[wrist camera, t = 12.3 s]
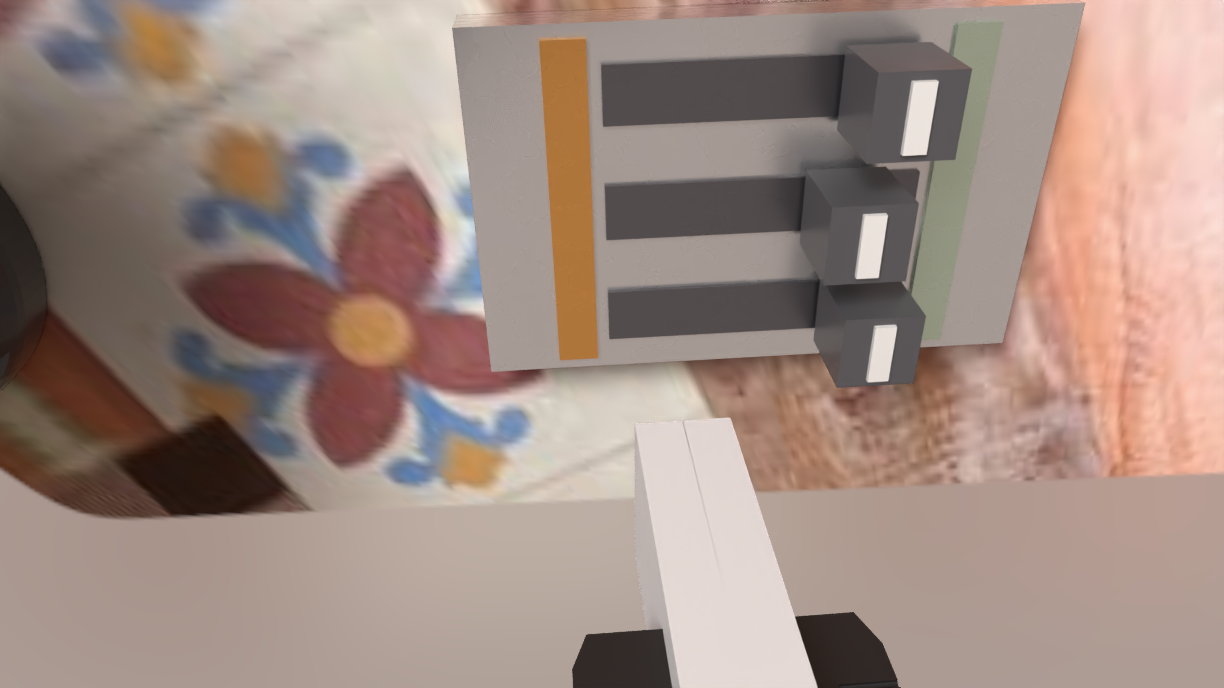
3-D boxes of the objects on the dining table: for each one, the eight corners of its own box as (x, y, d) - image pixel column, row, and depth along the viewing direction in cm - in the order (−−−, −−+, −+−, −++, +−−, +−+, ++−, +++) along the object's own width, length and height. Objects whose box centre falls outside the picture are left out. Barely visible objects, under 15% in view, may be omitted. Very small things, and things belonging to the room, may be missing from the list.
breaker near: (836, 129, 33) (868, 166, 29) (846, 45, 31) (880, 74, 28) (917, 125, 33) (957, 162, 30) (931, 41, 31) (974, 70, 28)
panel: (493, 346, 39) (491, 374, 38) (457, 15, 32) (451, 29, 30) (983, 319, 40) (1004, 345, 39) (1057, -9, 33) (1088, 3, 31)
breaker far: (813, 339, 37) (838, 390, 34) (820, 276, 36) (847, 323, 33) (884, 336, 38) (915, 386, 34) (894, 272, 36) (927, 318, 33)
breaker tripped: (799, 243, 35) (824, 288, 32) (806, 170, 33) (833, 209, 30) (875, 239, 35) (907, 283, 32) (885, 166, 34) (921, 205, 30)
